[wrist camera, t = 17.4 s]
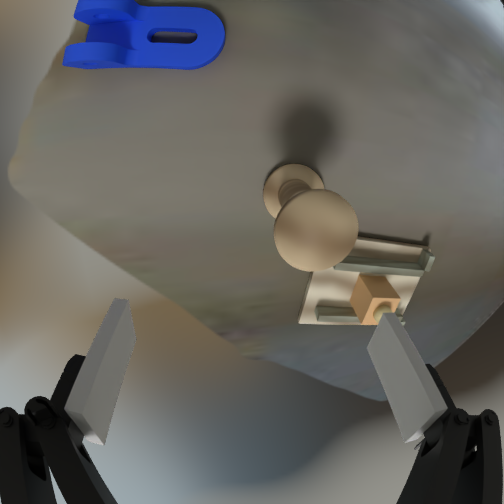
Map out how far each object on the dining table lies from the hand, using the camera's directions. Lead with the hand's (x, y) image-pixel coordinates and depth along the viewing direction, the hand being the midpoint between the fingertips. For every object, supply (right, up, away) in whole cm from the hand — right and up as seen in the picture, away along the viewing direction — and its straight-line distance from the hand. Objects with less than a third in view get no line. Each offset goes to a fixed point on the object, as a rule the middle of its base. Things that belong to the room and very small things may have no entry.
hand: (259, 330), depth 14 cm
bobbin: (+5, +12, +24) cm, 27 cm away
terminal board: (+18, -1, +31) cm, 36 cm away
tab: (+18, -2, +30) cm, 35 cm away
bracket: (-12, +30, +13) cm, 36 cm away
